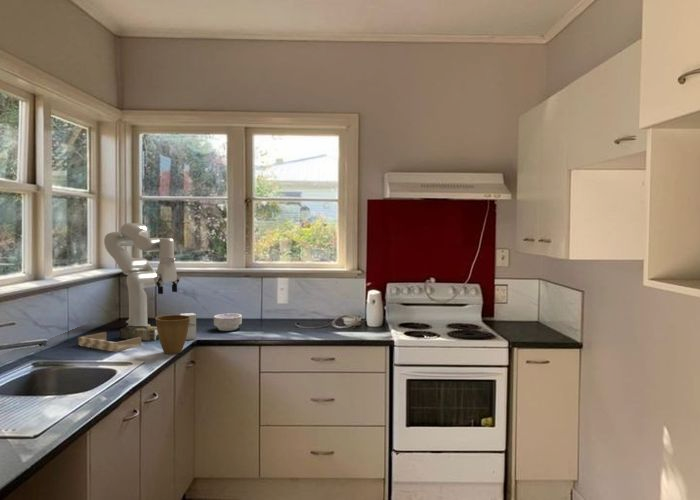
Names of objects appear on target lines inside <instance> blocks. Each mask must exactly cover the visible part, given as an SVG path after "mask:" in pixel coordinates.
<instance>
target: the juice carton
mask: <svg viewBox="0 0 700 500" xmlns="http://www.w3.org/2000/svg"><path fill="white" fill-rule="evenodd" d="M126 326H127V327H126ZM126 326H125V327H121V328H120V329H119V338H120V340H124V339H125V340H129V339H133V338H138V337H141V341H154V340H155V341H157V340H159V336H158V331H157V326H151V325H150V326H128V325H126Z"/></svg>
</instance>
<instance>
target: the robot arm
mask: <svg viewBox="0 0 700 500" xmlns="http://www.w3.org/2000/svg"><path fill="white" fill-rule="evenodd" d="M103 242H104V247H105V249H106V252H107V253H108V255H110V257H112V258H113V260H114V261H115V262H116V264H117V265H118V267H119V269H120V271H121V272H122V274H124V275H127V277H126V286H127V291H128V317H129V318H128V319H127V320H126V321H125V323H126V324H128V325H126V326H125V327H127V326H151V324H150V323H148V295H147V292H146V291H145V289H148V288H153V287H157V294H158V295H163V294H164V286H163V285H164V283H171V284H172V285H171V292H172V293H177V292H178V285H179V282H180V279H181V276H180V275H179V274H178V273H177V267H176V263H175V261H176V258H175V240H174V239H173V238H171V237H165V238H164V237H149V233H148V227H147V226H146V225H145V224H144V223H139V222H138V223H137V222H126V223H124V224H122V225H121V226H120V230H119V231H112V232H109V233H107V234H106V235H105V236H104V240H103ZM132 246H135V247H136V248H137V249H138V250H140V251H142V252H146V253H152V252H153V253H155V252H159V253H158V255H159V256H158V258H159V263H158V264H157V270H156V269H154V267H153V266H152V264H151V262H150V261H149V260H147V258H144V257H136V258H135V257H133V256H132V255H131V254H130V252H129V251H128V250H127V249H125V248H124V247H132Z"/></svg>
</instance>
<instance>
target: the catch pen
mask: <svg viewBox="0 0 700 500" xmlns="http://www.w3.org/2000/svg"><path fill="white" fill-rule="evenodd" d="M107 335H108V334H107V331H104V332H99V333H94V334H87V335H82V336H78V337H77V338H78V339H77V340H78V346H79V345H80V347H84V346H85V347H84V348H90V347H91V348H92V349H97V350H102V351H108V352H115V353H116V352H121V351H125V350H129V349H133V348H137V347H141V346H142V340H141V337H138V338H133V339H129V340H127V339H125V340H124V339H123V340H120V341H117V342H116V341H110V340H109V341H108V340H107Z"/></svg>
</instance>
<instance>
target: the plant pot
mask: <svg viewBox="0 0 700 500" xmlns="http://www.w3.org/2000/svg"><path fill="white" fill-rule="evenodd" d="M189 323H190V316H185V315H179V314H171V315H161V316H157V317H155V327H157V331H158V336H159V339H158V340H159V343H160V346H161V348H162V351H163V353H164V354H166V355H176V354H181V353H182V352H183V349H184V347H185V343H186V341H187V340H186V337H187V333H188V329H189Z"/></svg>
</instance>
